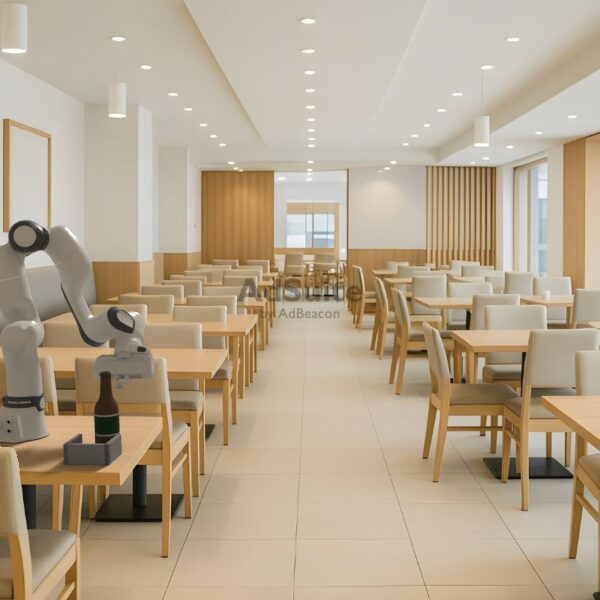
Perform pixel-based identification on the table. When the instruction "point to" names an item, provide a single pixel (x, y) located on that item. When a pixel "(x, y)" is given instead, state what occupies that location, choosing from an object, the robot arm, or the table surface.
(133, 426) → the table surface
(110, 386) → the beer bottle
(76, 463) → the bottle stall
